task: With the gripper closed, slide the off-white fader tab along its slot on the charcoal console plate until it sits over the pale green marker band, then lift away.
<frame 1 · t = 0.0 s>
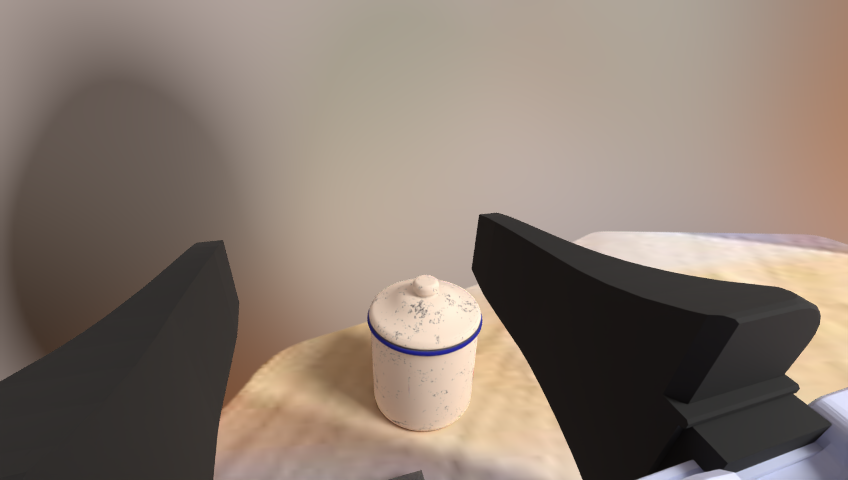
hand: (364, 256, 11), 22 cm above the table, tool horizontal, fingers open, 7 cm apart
teacup with lid: (413, 382, 35), on the table
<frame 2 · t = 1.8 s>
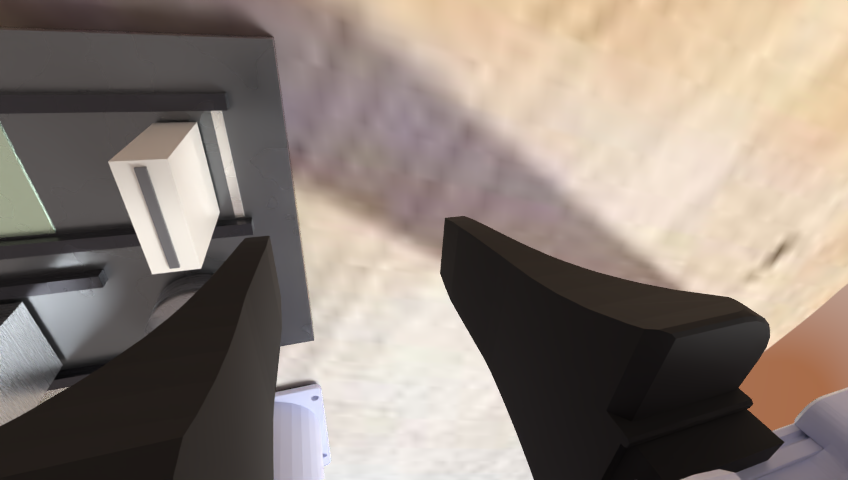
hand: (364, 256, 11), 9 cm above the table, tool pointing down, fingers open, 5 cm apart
fader: (175, 193, 14), point 4 cm above the table, slide at -4.0 cm
console: (114, 227, 17), on the table
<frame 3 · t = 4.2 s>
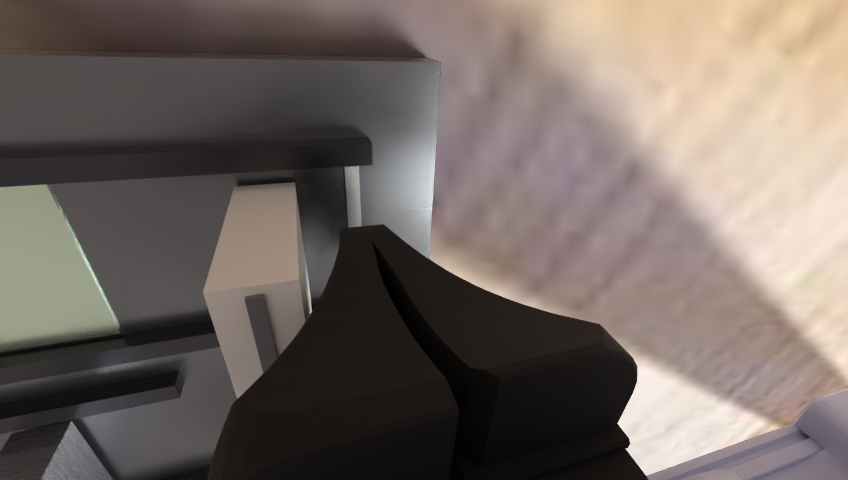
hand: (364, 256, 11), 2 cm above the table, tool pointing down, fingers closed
fader: (274, 296, 9), point 4 cm above the table, slide at -3.2 cm, touching gripper
console: (192, 312, 13), on the table
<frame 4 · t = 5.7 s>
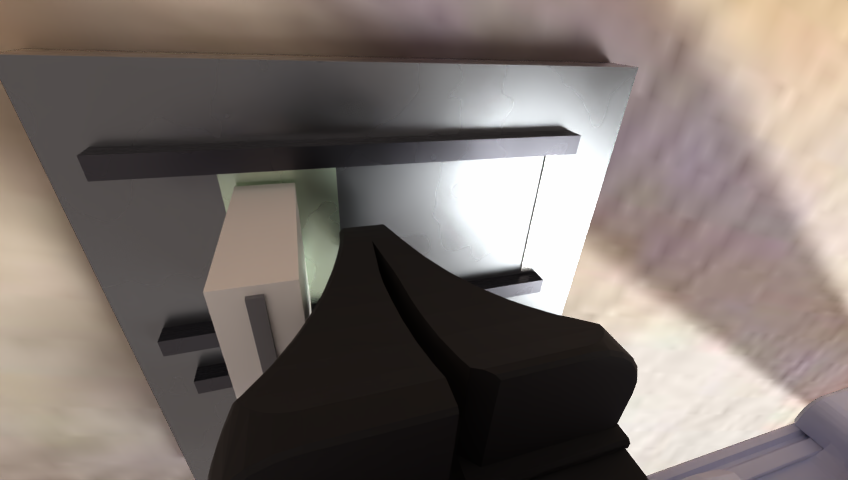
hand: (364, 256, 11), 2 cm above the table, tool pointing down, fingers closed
fader: (274, 296, 9), point 4 cm above the table, slide at 3.4 cm, touching gripper
console: (381, 284, 15), on the table
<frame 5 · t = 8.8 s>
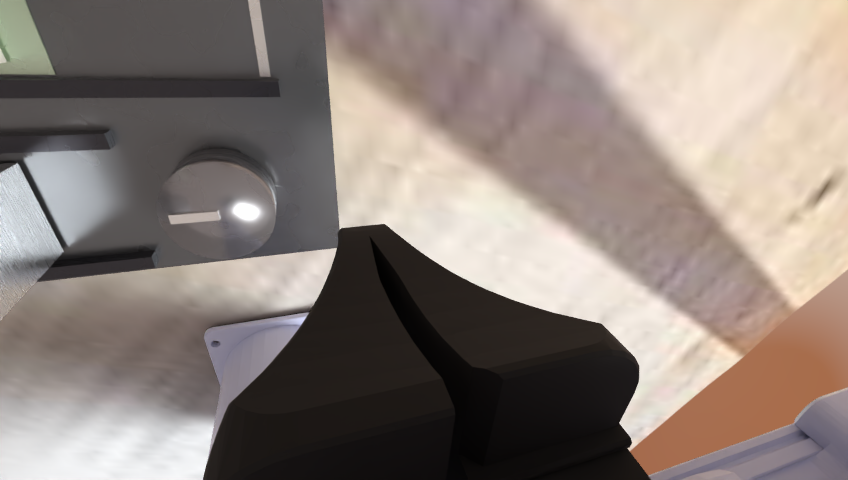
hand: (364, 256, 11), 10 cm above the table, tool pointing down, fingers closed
console: (123, 86, 15), on the table
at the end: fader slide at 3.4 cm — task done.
